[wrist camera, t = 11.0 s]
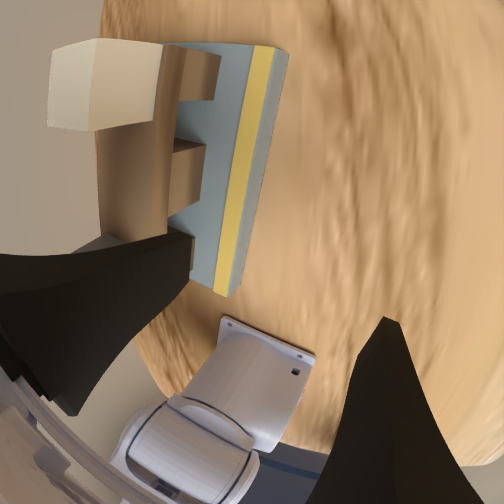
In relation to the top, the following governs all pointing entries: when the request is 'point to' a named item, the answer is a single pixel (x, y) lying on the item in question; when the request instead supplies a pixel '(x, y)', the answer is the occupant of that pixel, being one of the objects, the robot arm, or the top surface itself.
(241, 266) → the dock
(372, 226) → the top surface
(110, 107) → the cream block
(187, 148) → the brown piece
